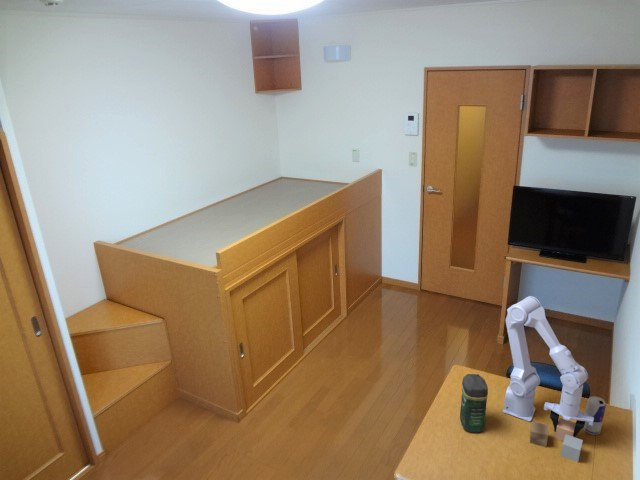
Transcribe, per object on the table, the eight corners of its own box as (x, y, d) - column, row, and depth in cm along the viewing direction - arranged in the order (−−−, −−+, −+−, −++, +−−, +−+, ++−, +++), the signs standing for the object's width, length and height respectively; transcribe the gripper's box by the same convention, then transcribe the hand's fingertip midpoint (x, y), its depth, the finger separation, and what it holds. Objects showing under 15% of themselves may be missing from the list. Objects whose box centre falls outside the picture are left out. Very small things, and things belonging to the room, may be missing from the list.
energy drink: (602, 436, 162) (608, 407, 157) (585, 434, 163) (590, 405, 158) (597, 424, 167) (603, 396, 162) (580, 423, 168) (585, 395, 163)
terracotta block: (554, 438, 162) (556, 426, 160) (557, 429, 166) (559, 417, 164) (571, 444, 159) (573, 432, 158) (574, 434, 163) (576, 422, 161)
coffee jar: (487, 433, 166) (491, 389, 159) (463, 433, 166) (466, 389, 159) (480, 414, 175) (483, 371, 168) (457, 414, 175) (460, 371, 168)
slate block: (560, 456, 155) (562, 443, 153) (563, 446, 159) (565, 434, 157) (577, 462, 152) (580, 450, 151) (580, 452, 156) (582, 440, 154)
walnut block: (529, 443, 161) (531, 431, 159) (530, 432, 165) (531, 421, 163) (546, 447, 159) (547, 435, 157) (546, 436, 163) (548, 425, 161)
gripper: (543, 399, 158) (539, 432, 163) (593, 415, 150) (587, 449, 155) (548, 387, 163) (543, 419, 168) (597, 402, 156) (590, 435, 160)
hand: (565, 433), depth 162 cm, fingers closed on terracotta block, 5 cm apart
